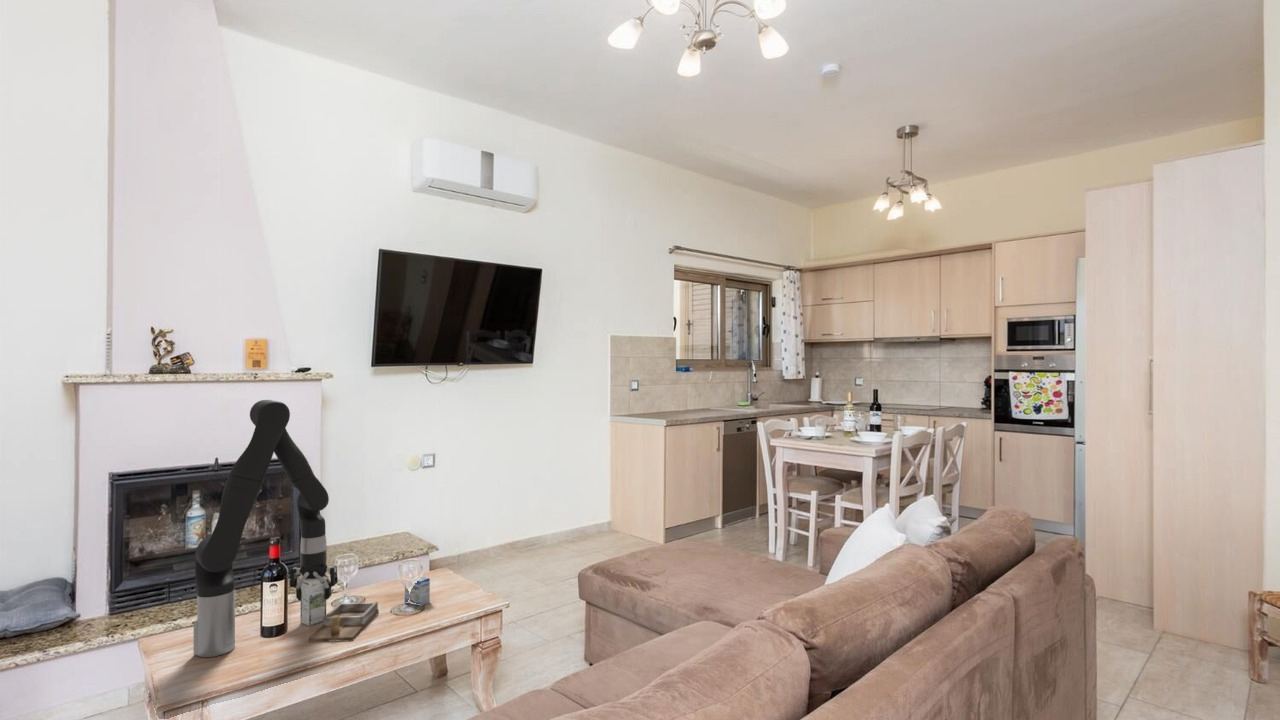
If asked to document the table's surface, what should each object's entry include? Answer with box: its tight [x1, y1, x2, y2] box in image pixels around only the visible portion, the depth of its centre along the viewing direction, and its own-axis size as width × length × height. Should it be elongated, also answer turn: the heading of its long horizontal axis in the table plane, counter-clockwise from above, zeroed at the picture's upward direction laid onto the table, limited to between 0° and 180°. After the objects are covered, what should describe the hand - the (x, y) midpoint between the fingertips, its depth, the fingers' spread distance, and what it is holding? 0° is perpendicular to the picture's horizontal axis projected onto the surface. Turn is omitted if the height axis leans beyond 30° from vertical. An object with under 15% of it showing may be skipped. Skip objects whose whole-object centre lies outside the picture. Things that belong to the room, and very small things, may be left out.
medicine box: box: [404, 576, 431, 606], centre depth 221 cm, size 8×4×9 cm, turn 62°
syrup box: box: [300, 576, 327, 627], centre depth 205 cm, size 6×6×14 cm
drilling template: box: [308, 601, 380, 643], centre depth 201 cm, size 13×22×6 cm, turn 3°
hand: (314, 599), depth 205 cm, fingers closed on syrup box, 8 cm apart
